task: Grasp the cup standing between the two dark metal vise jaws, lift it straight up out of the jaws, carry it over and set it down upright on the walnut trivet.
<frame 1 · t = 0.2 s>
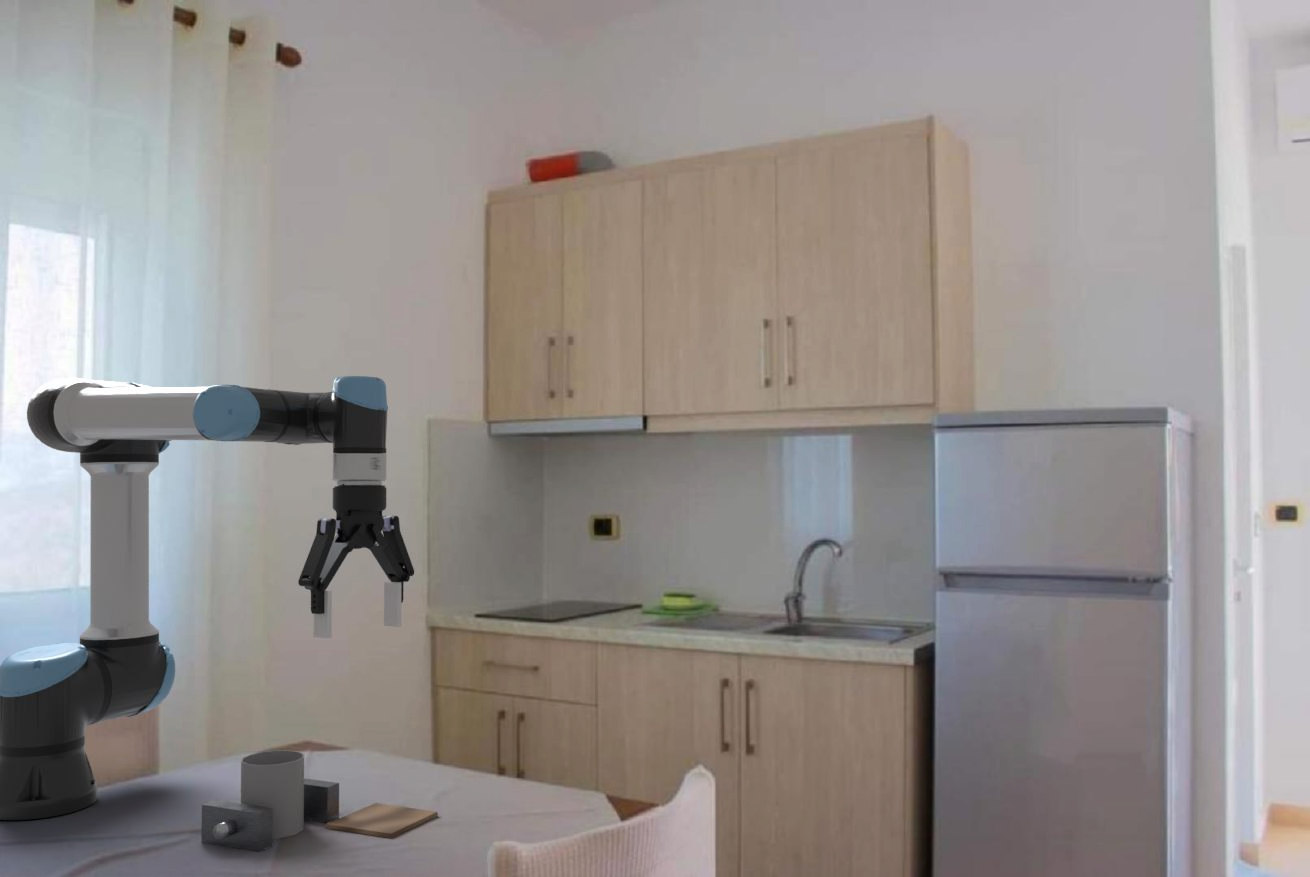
hand: (358, 631, 162), 27 cm above the table, fingers open, 13 cm apart
trivet: (382, 822, 161), on the table
cup: (272, 831, 157), on the table
vise jaws: (272, 829, 157), on the table
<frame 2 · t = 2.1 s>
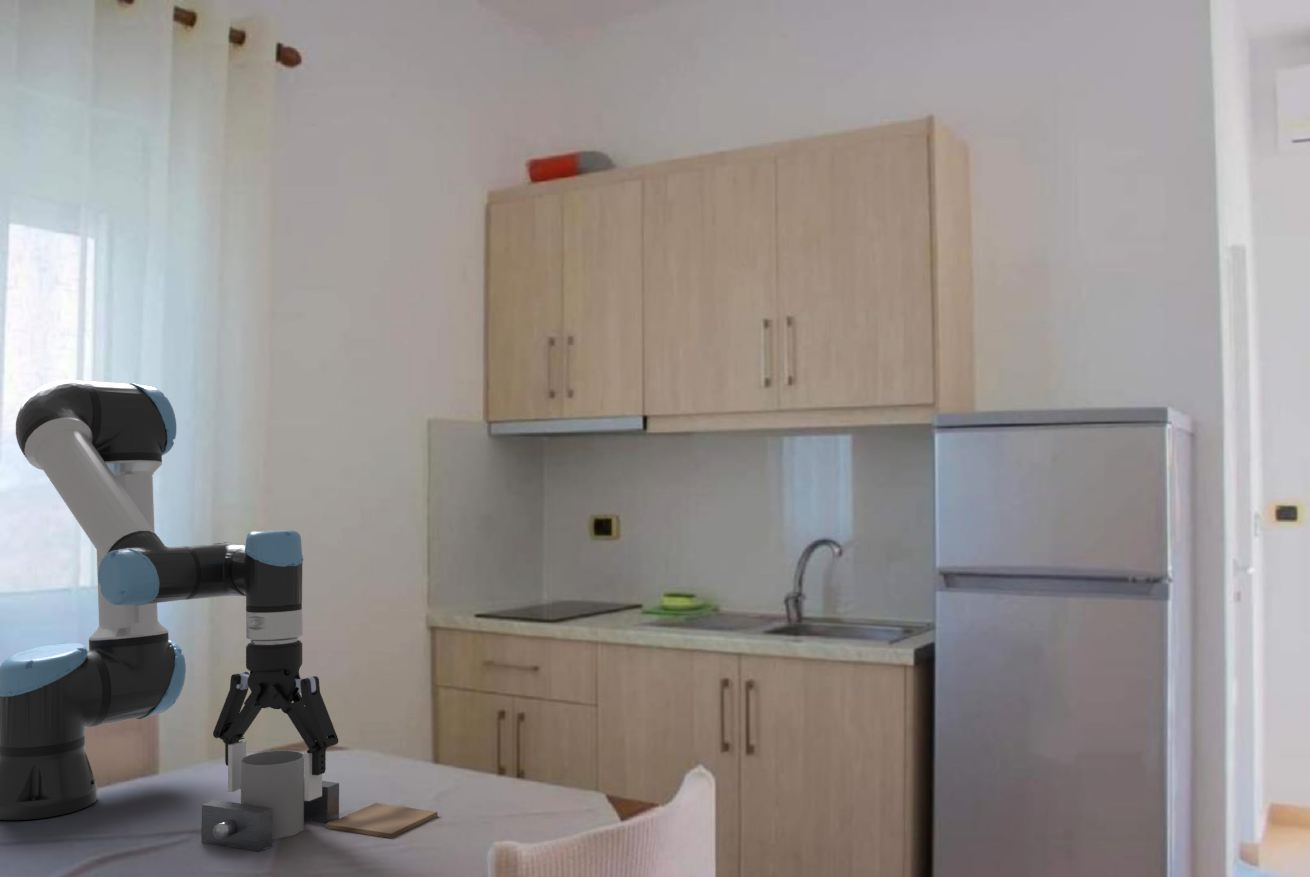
hand: (274, 794, 157), 5 cm above the table, fingers open, 13 cm apart
nothing on the table moved.
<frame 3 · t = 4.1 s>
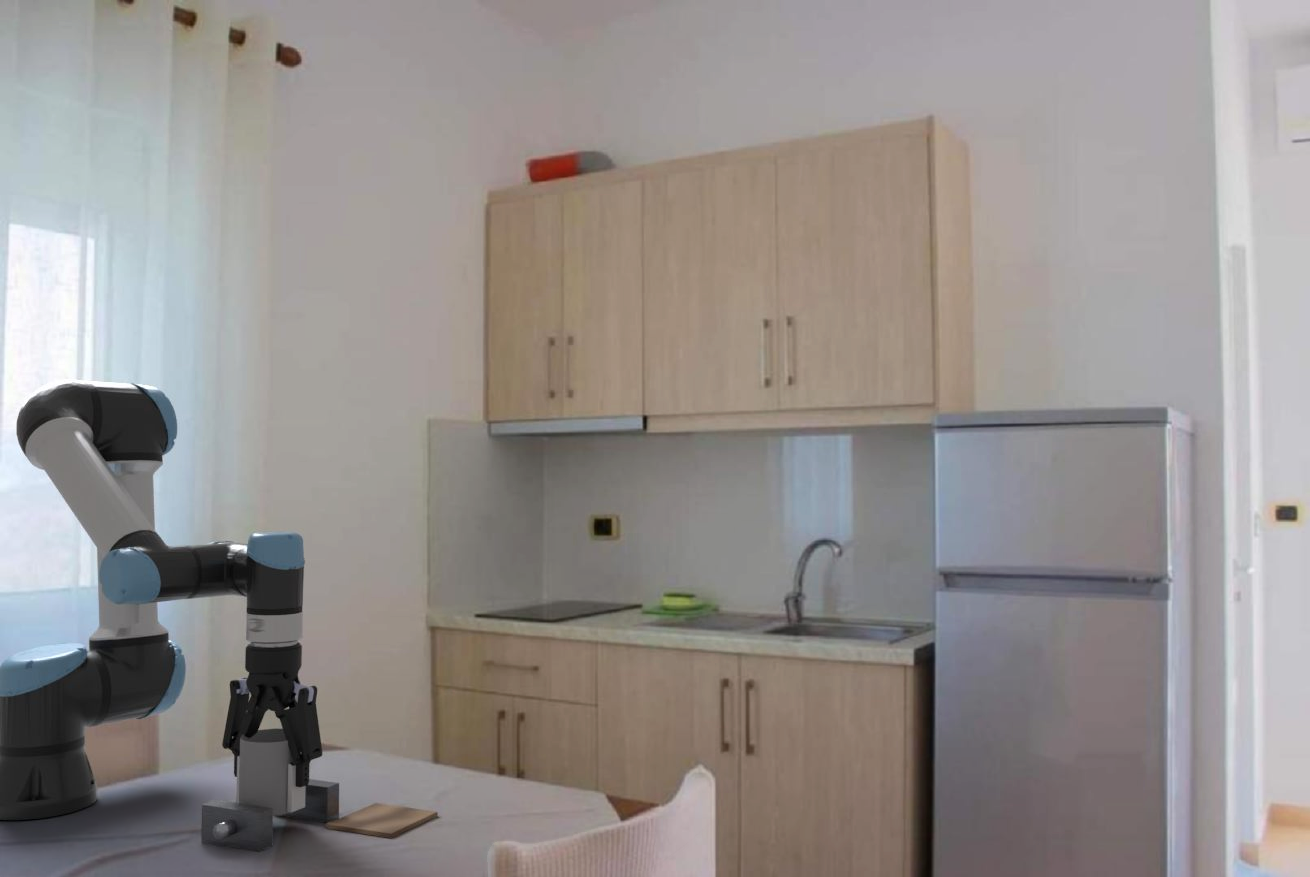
hand: (270, 804, 158), 3 cm above the table, fingers closed on cup, 8 cm apart
cup: (270, 808, 158), point 3 cm above the table, touching gripper
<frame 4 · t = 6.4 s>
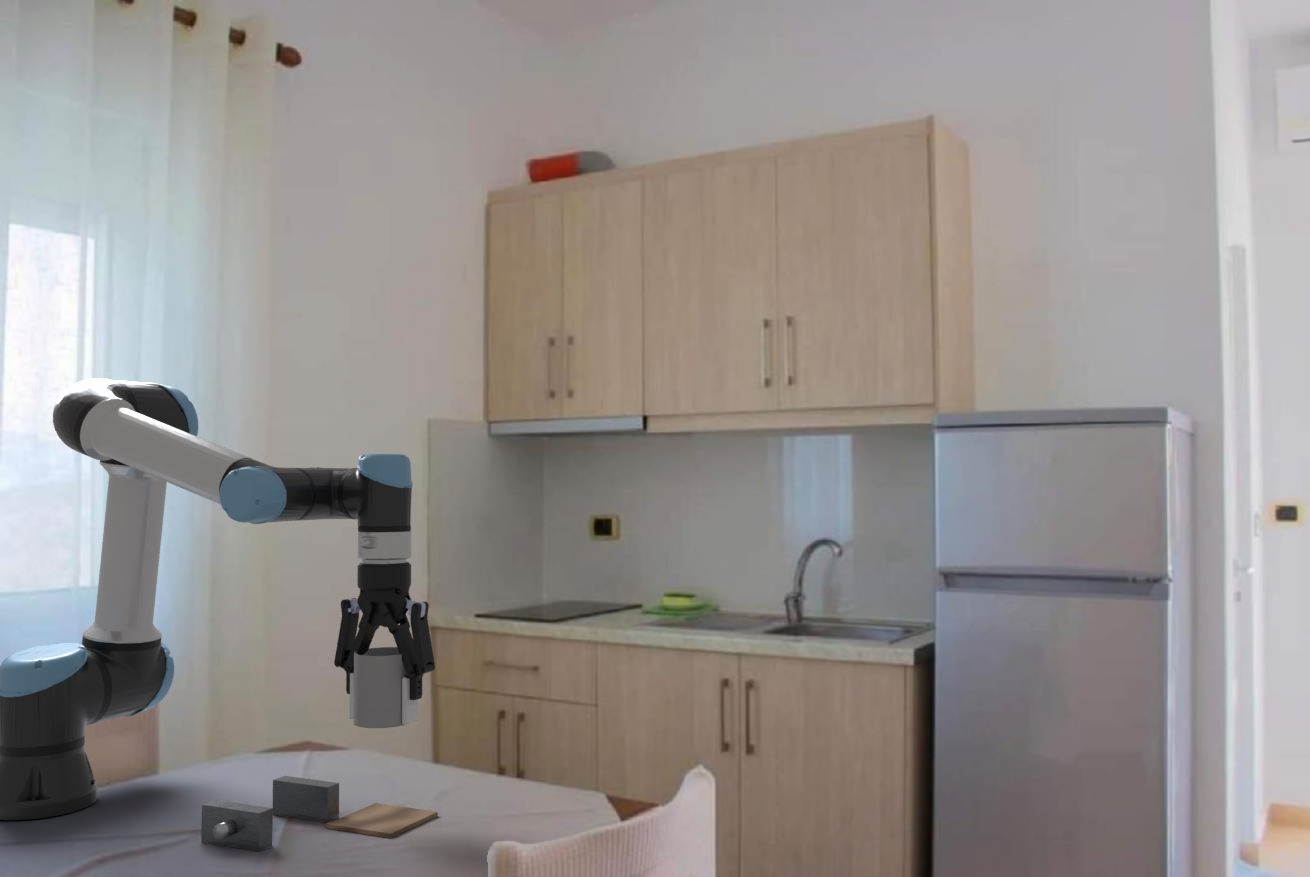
hand: (383, 719, 161), 14 cm above the table, fingers closed on cup, 8 cm apart
cup: (383, 723, 161), point 14 cm above the table, touching gripper
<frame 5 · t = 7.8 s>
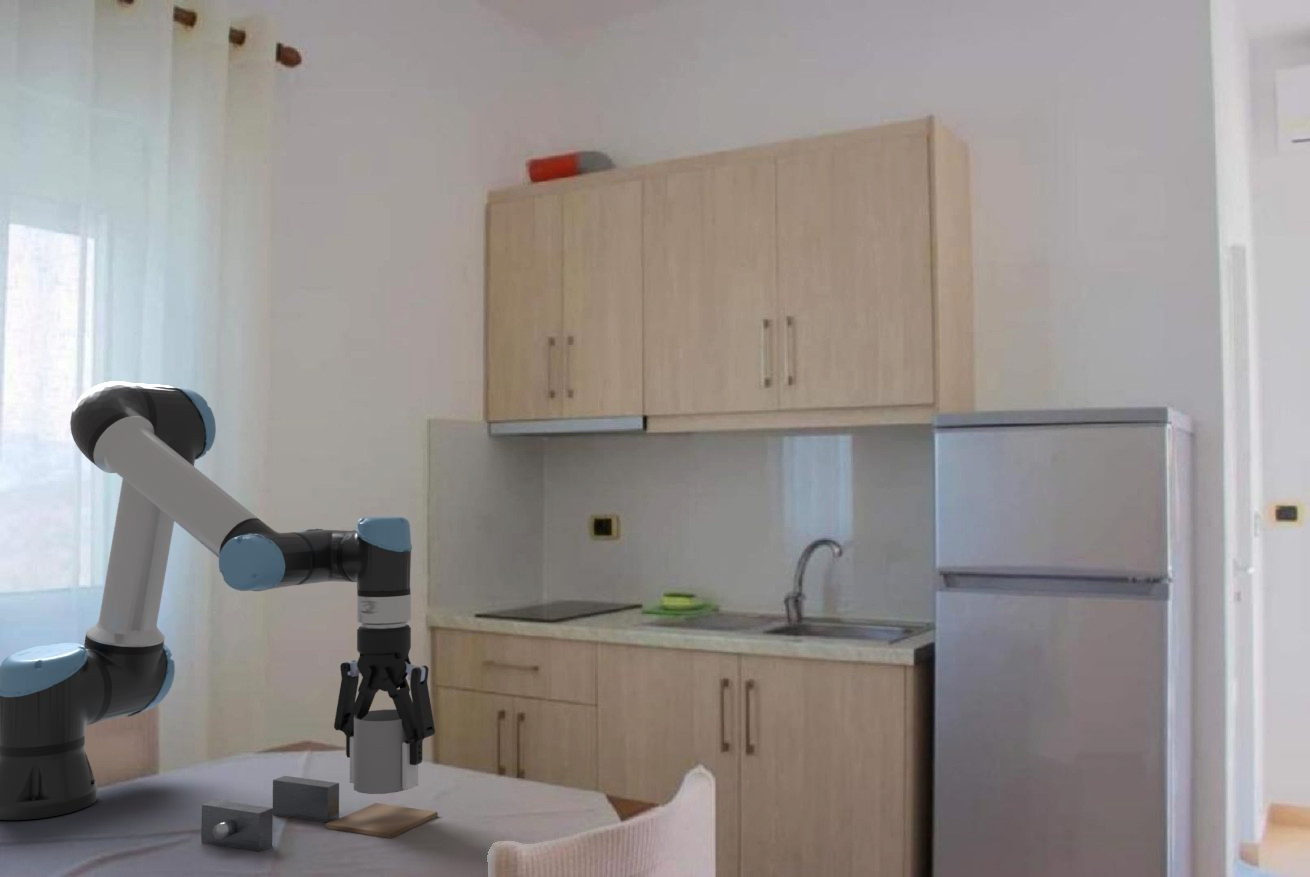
hand: (383, 784, 161), 5 cm above the table, fingers closed on cup, 8 cm apart
cup: (383, 787, 161), point 5 cm above the table, touching gripper
when the fingers open (2 cm above the table, at t = 9.0 s): cup stays where it is, resting on trivet.
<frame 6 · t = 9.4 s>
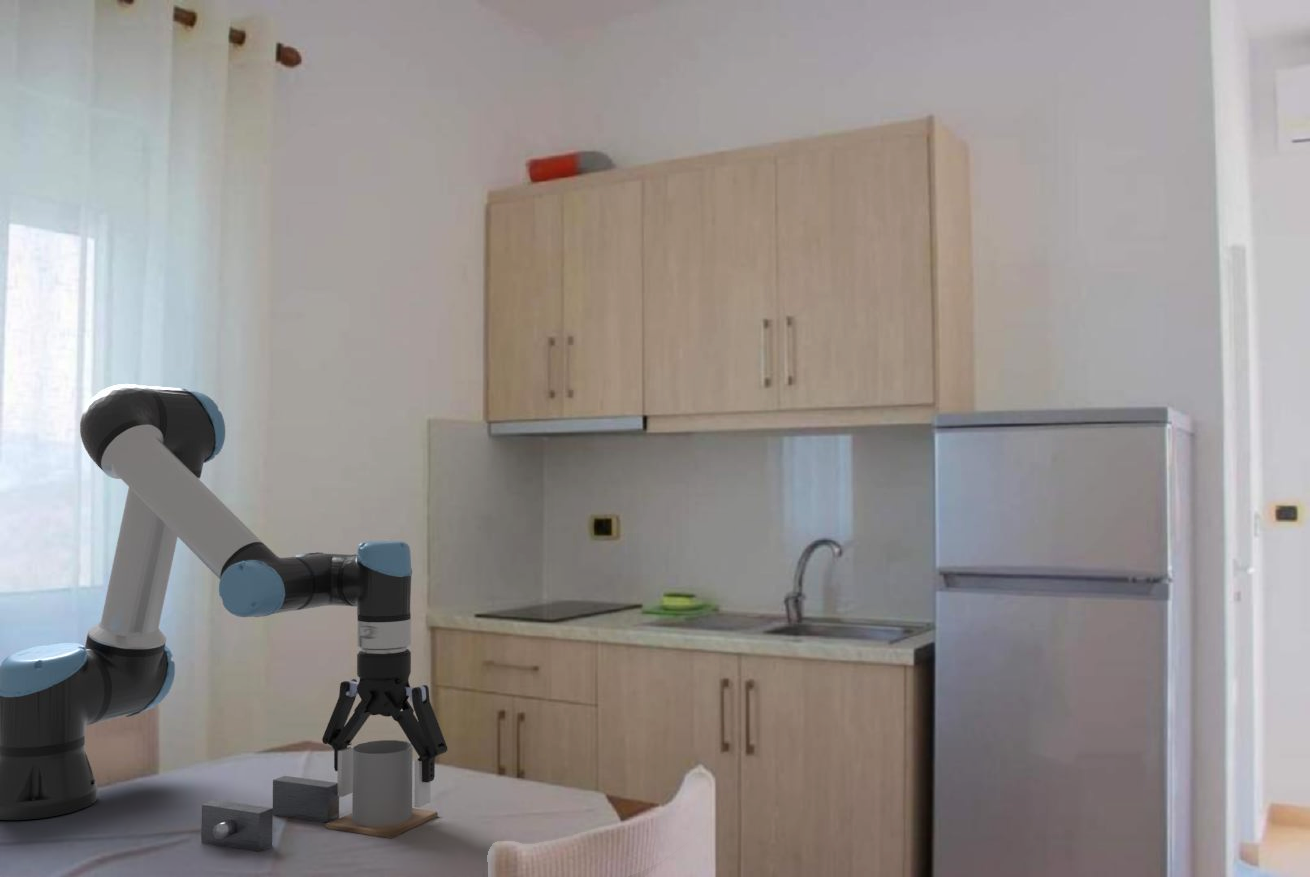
hand: (383, 799, 161), 3 cm above the table, fingers open, 13 cm apart
cup: (382, 819, 161), resting on trivet
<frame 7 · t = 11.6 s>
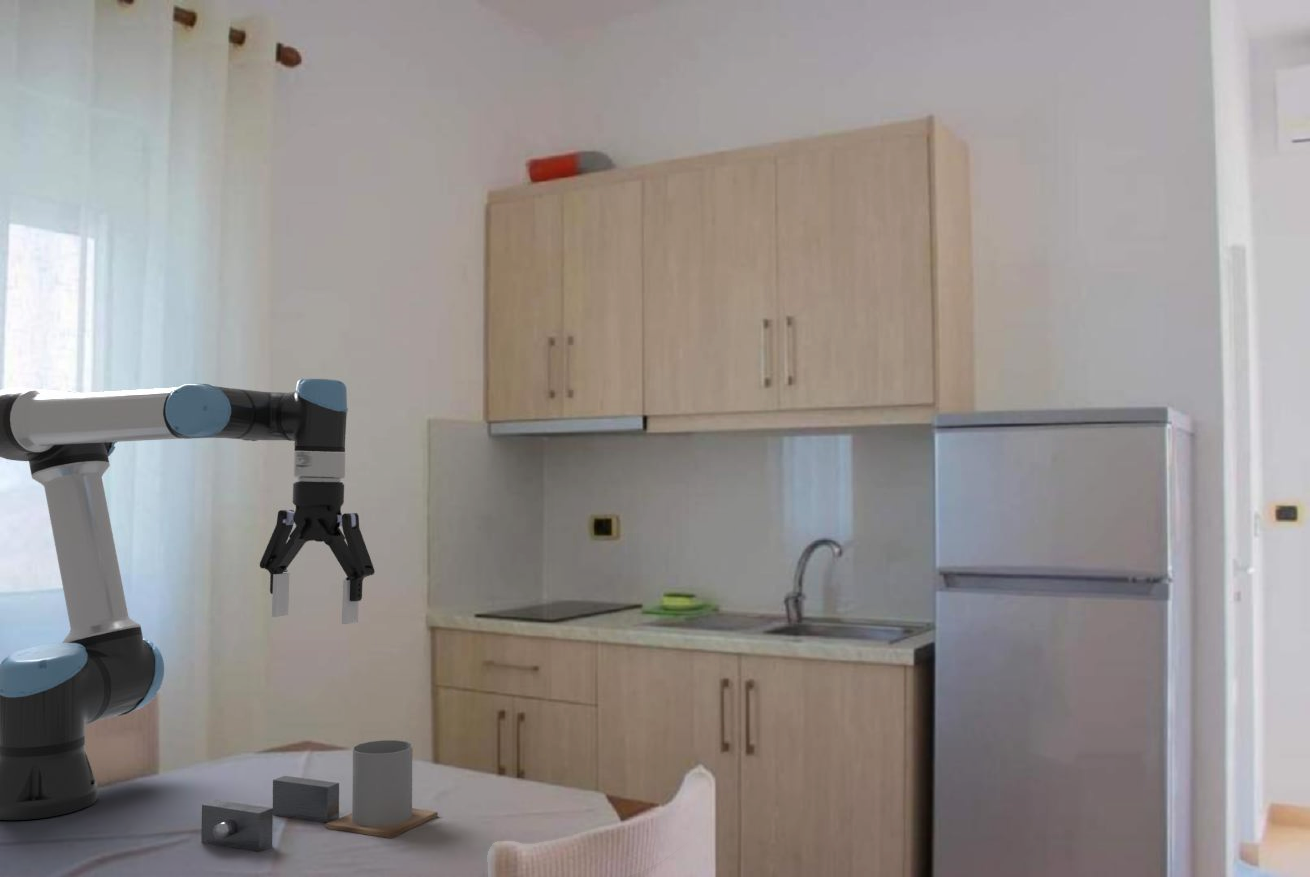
hand: (314, 619, 172), 27 cm above the table, fingers open, 13 cm apart
nothing on the table moved.
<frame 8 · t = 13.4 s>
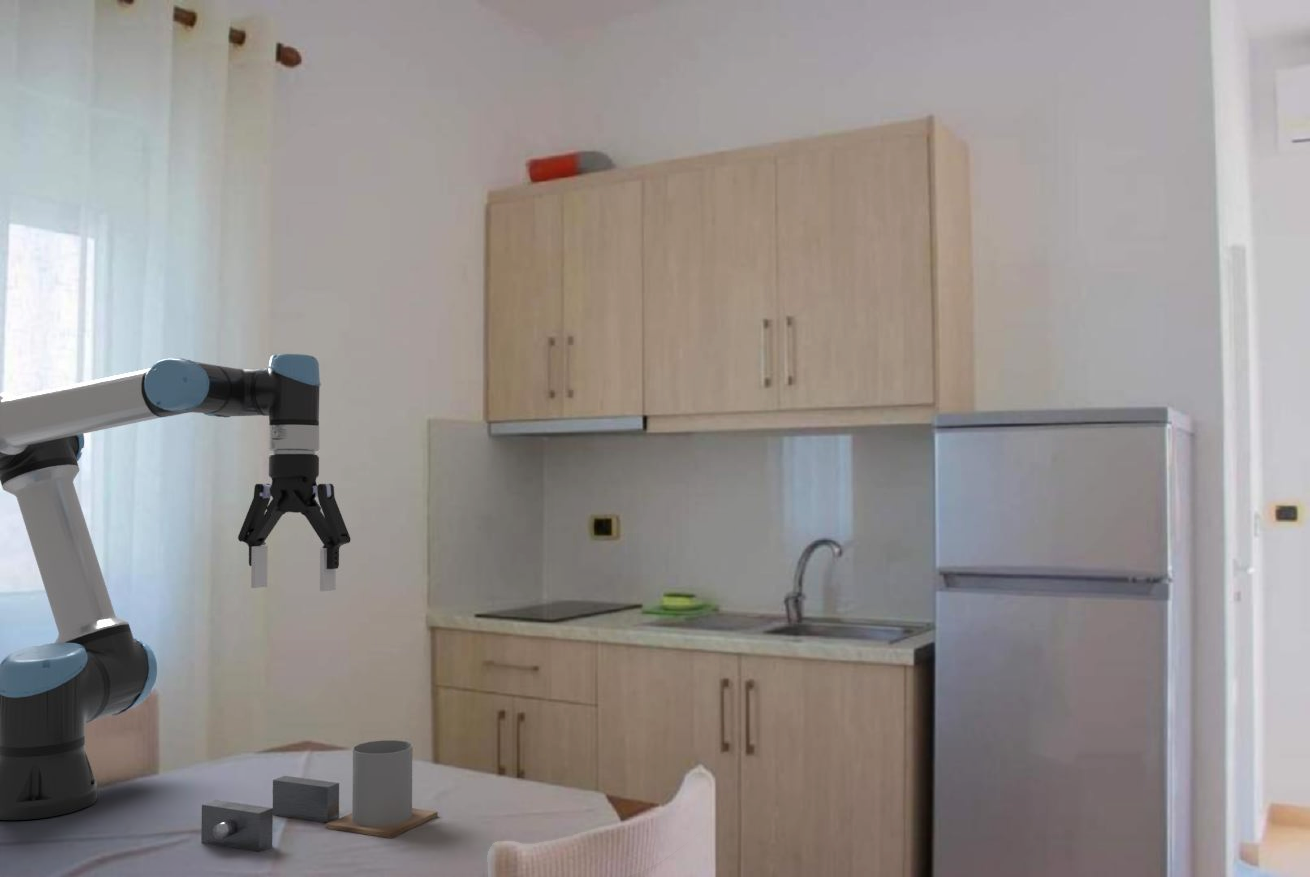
hand: (292, 589, 176), 32 cm above the table, fingers open, 13 cm apart
nothing on the table moved.
at the end: cup inside the target area on the trivet (0.1 cm from its centre), point 0.4 cm above the trivet's base; cup tilted 0°; the gripper is holding nothing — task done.
